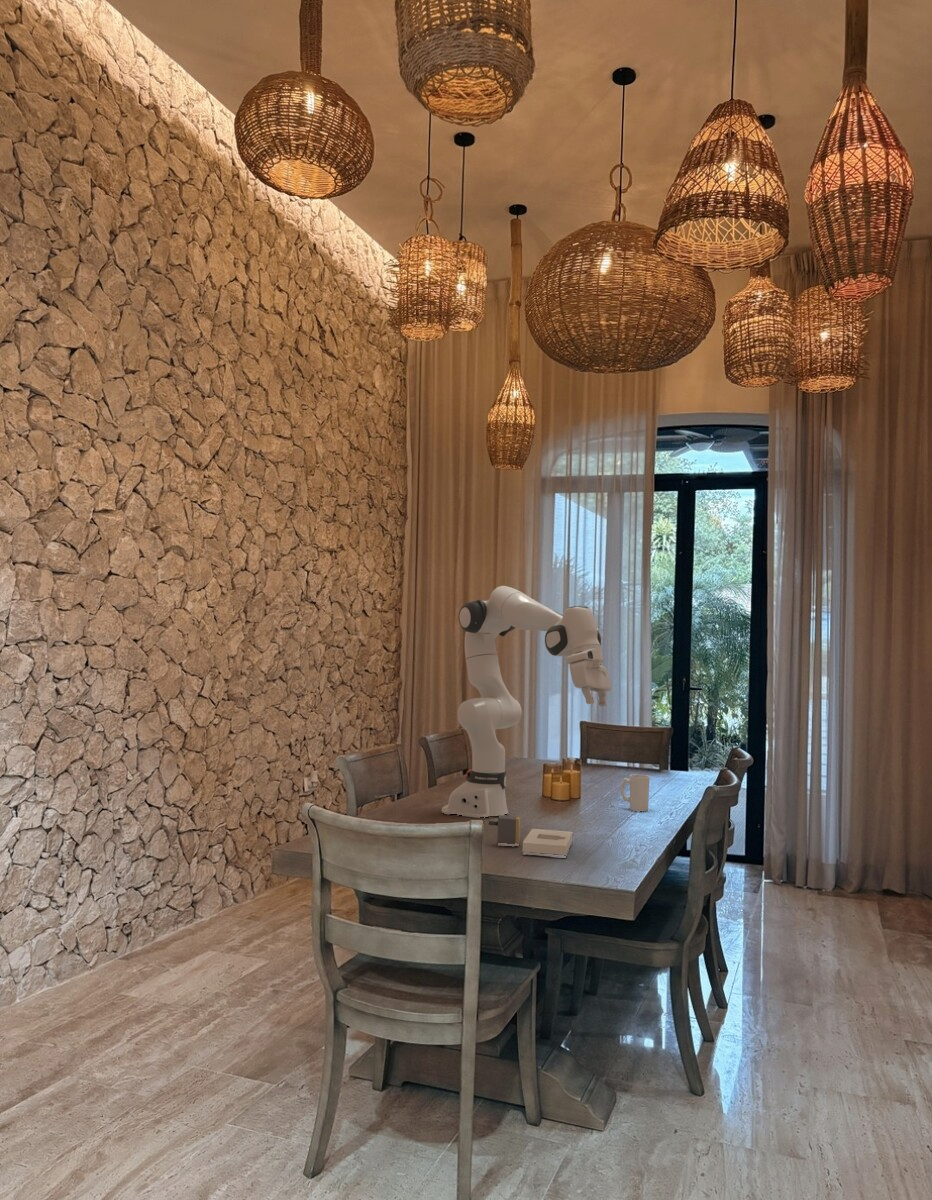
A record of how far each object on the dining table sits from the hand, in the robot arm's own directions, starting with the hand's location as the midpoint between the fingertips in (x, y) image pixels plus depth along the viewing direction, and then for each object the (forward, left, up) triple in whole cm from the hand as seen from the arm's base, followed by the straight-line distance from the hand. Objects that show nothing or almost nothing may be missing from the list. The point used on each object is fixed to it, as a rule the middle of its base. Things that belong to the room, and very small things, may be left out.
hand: (596, 704), depth 261 cm
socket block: (-12, -5, -41) cm, 43 cm away
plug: (-24, -4, -41) cm, 48 cm away
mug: (+10, +62, -41) cm, 75 cm away
